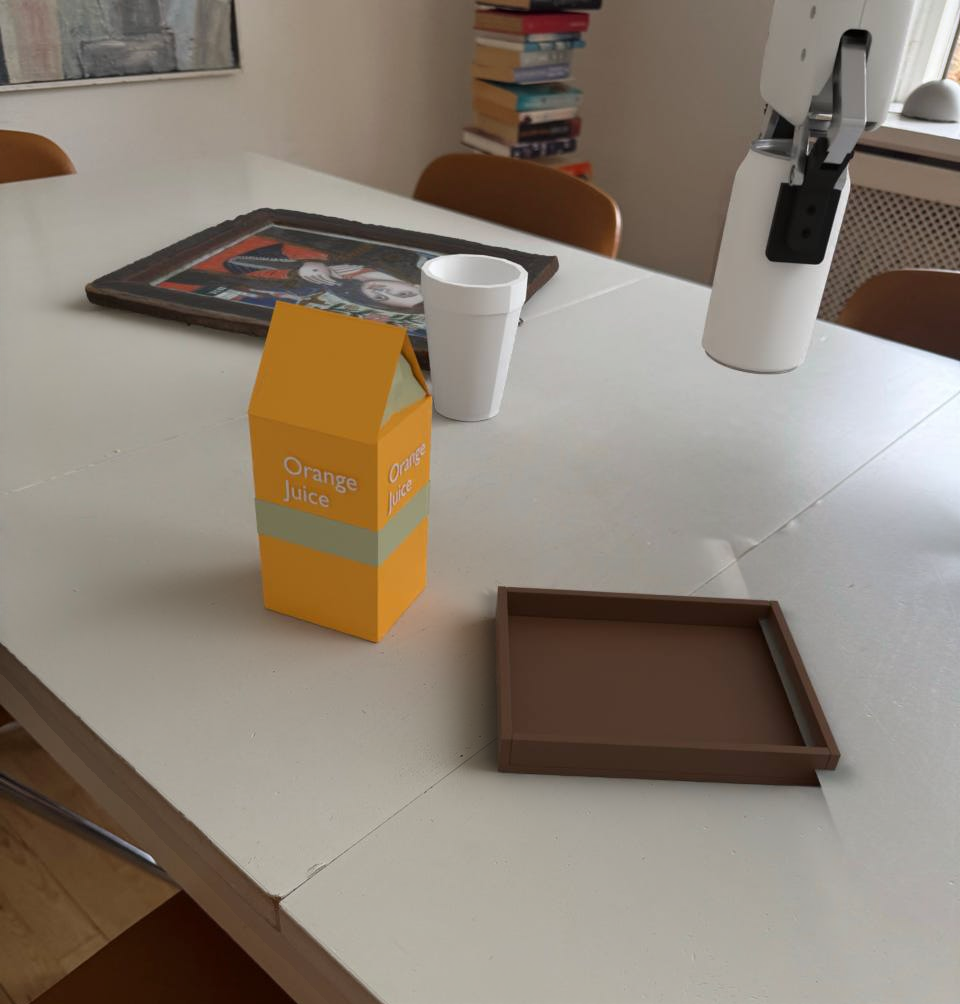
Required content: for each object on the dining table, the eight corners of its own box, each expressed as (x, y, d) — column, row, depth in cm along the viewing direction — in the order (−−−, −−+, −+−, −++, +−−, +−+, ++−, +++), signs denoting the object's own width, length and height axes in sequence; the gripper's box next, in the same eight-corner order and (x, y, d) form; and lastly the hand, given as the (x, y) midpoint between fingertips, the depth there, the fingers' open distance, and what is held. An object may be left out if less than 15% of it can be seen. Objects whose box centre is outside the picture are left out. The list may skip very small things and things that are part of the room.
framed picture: (466, 387, 100) (468, 357, 98) (83, 312, 110) (78, 284, 108) (568, 276, 131) (570, 252, 129) (261, 225, 141) (259, 202, 139)
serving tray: (768, 630, 70) (777, 600, 68) (828, 787, 58) (841, 754, 56) (495, 616, 69) (497, 585, 68) (497, 772, 57) (501, 738, 56)
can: (688, 336, 65) (727, 134, 58) (783, 339, 66) (833, 139, 59) (716, 375, 60) (762, 159, 53) (819, 378, 61) (878, 164, 54)
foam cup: (457, 379, 102) (464, 248, 94) (533, 405, 98) (547, 270, 90) (398, 408, 95) (400, 269, 87) (477, 437, 91) (486, 295, 83)
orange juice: (319, 554, 74) (308, 282, 62) (427, 586, 72) (437, 308, 60) (262, 609, 68) (237, 319, 56) (377, 645, 66) (377, 351, 54)
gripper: (1020, -140, 41) (886, 296, 52) (890, -133, 55) (806, 210, 66) (840, -154, 41) (743, 285, 52) (755, -144, 55) (693, 201, 66)
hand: (779, 240), depth 59 cm, fingers closed on can, 6 cm apart
